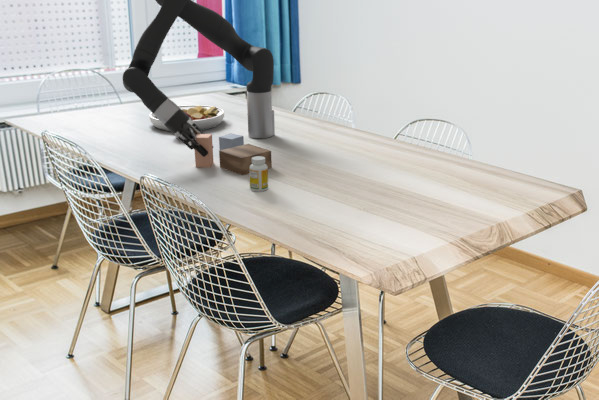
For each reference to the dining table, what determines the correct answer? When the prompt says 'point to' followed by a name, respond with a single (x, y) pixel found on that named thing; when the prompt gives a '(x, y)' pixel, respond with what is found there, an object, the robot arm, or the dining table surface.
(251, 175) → the supplement bottle
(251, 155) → the walnut block
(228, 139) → the slate cube
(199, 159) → the pillar block
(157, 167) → the dining table surface
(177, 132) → the die
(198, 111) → the bowl
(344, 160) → the dining table surface
